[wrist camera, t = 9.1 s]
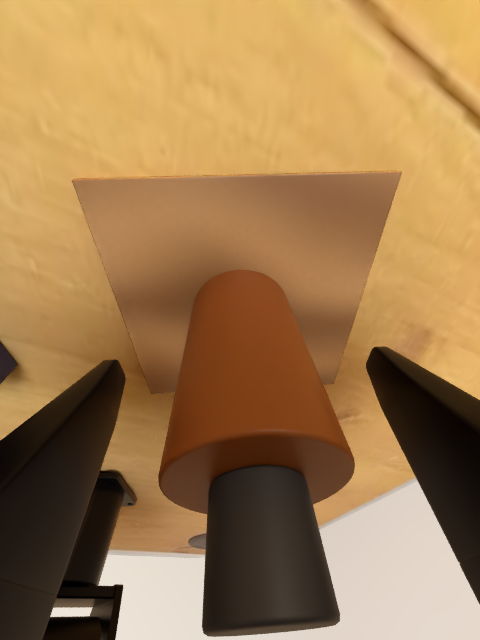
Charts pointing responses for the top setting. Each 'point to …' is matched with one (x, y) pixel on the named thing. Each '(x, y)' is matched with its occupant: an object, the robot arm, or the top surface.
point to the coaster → (236, 251)
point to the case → (6, 363)
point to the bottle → (255, 459)
